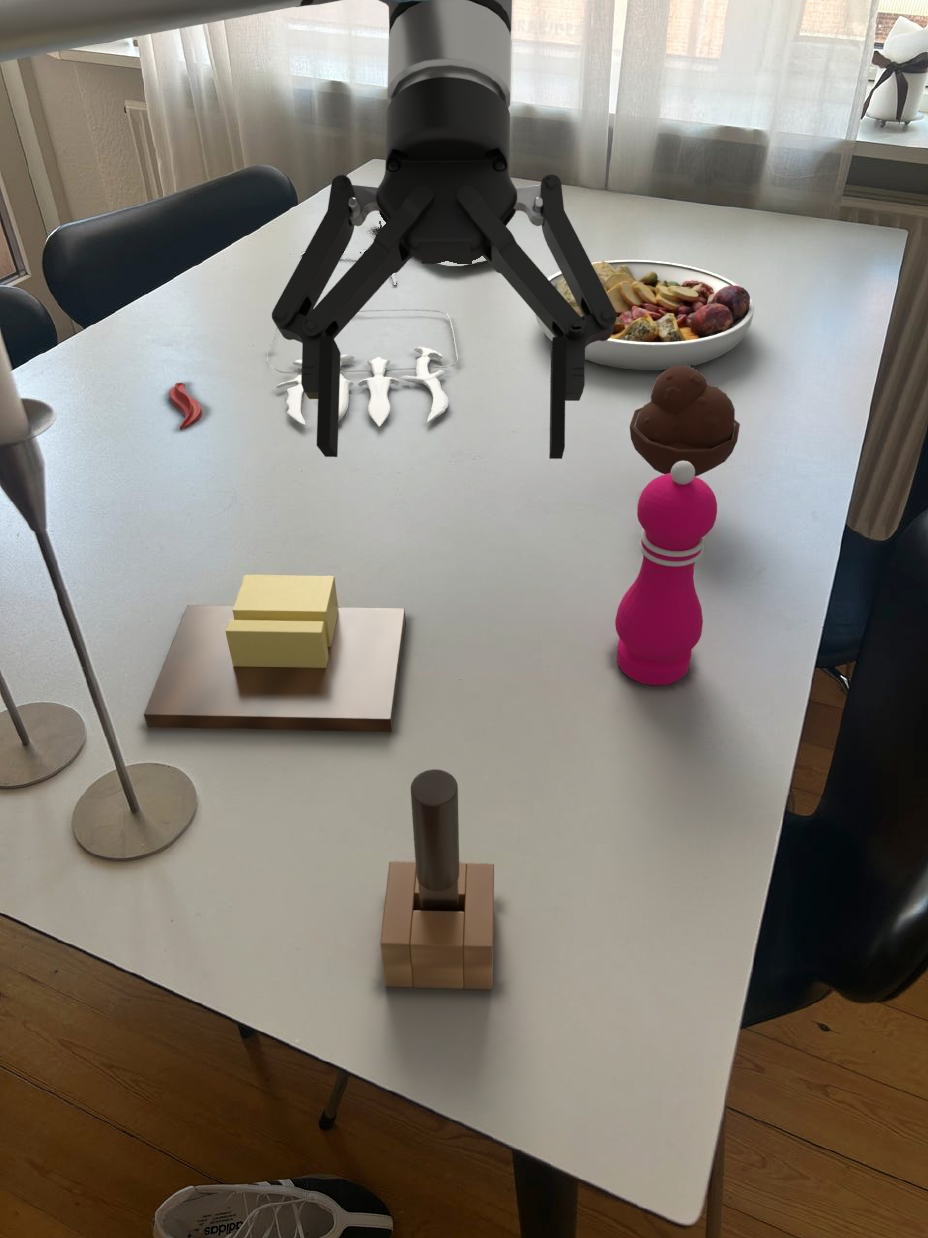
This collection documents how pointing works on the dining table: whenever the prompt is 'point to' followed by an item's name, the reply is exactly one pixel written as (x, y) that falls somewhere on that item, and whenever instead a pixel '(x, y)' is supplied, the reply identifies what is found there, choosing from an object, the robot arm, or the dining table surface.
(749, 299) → the bowl
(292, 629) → the butter slice
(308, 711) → the butter board
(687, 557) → the pepper mill
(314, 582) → the butter block
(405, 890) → the knife stand
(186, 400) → the cayenne pepper
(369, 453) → the dining table surface
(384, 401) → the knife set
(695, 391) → the ice cream bowl
